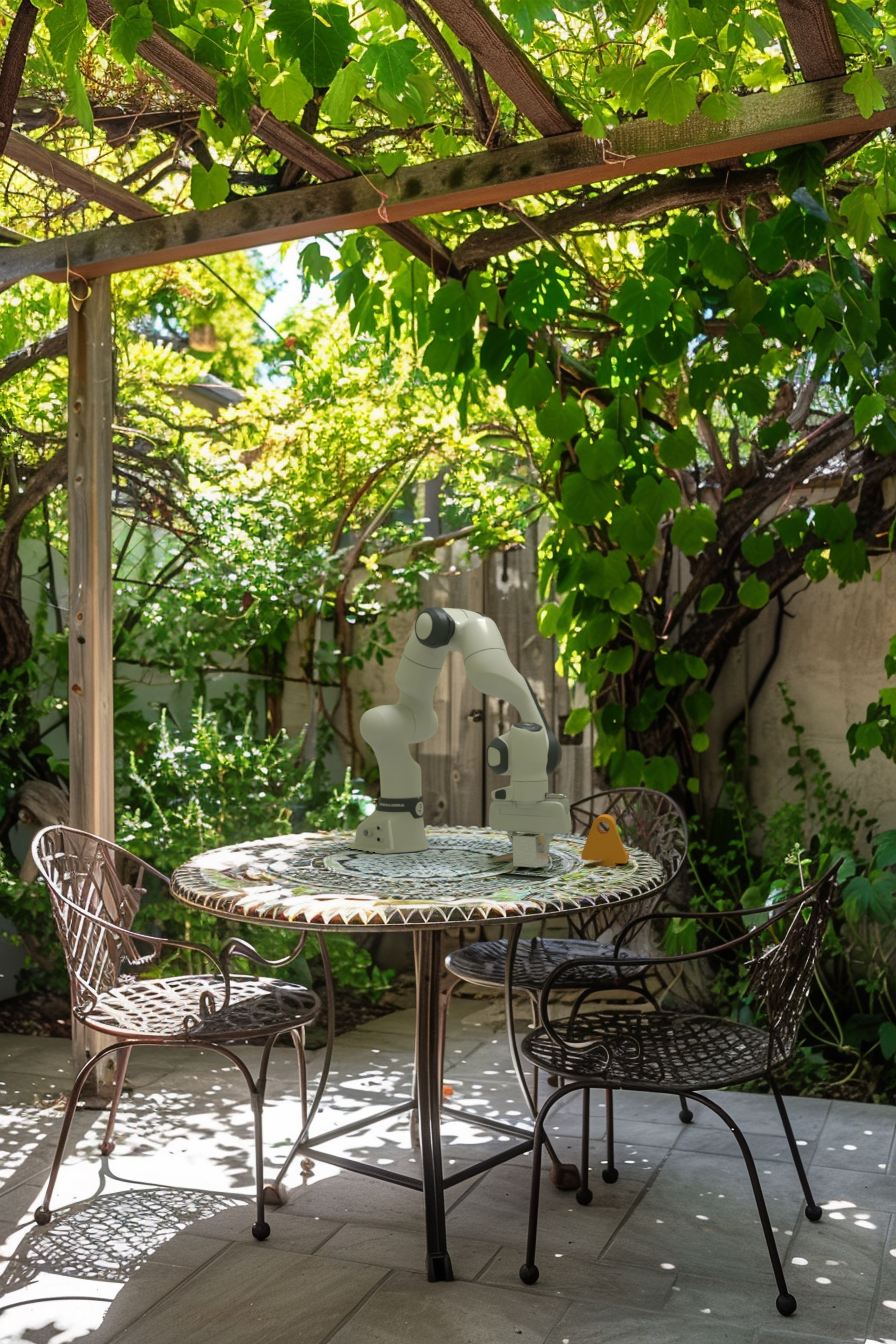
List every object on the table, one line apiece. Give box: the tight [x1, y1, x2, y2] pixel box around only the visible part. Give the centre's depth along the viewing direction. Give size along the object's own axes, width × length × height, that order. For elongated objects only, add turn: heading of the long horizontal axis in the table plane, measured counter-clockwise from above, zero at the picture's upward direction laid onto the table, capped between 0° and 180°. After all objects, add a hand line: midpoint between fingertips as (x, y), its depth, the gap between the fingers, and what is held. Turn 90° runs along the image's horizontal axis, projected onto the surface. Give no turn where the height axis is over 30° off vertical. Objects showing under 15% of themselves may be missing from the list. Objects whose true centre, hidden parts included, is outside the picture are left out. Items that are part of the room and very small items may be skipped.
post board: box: [487, 832, 552, 863], centre depth 306 cm, size 12×12×8 cm
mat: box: [495, 872, 554, 882], centre depth 289 cm, size 12×12×1 cm
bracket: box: [580, 813, 630, 867], centre depth 303 cm, size 11×7×12 cm, turn 75°
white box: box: [512, 832, 549, 869], centre depth 289 cm, size 6×6×7 cm
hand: (530, 851), depth 289 cm, fingers closed on white box, 6 cm apart
